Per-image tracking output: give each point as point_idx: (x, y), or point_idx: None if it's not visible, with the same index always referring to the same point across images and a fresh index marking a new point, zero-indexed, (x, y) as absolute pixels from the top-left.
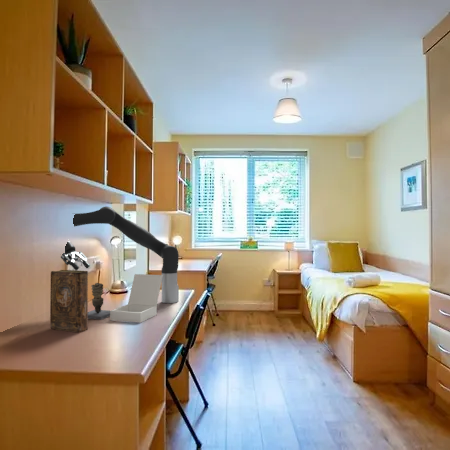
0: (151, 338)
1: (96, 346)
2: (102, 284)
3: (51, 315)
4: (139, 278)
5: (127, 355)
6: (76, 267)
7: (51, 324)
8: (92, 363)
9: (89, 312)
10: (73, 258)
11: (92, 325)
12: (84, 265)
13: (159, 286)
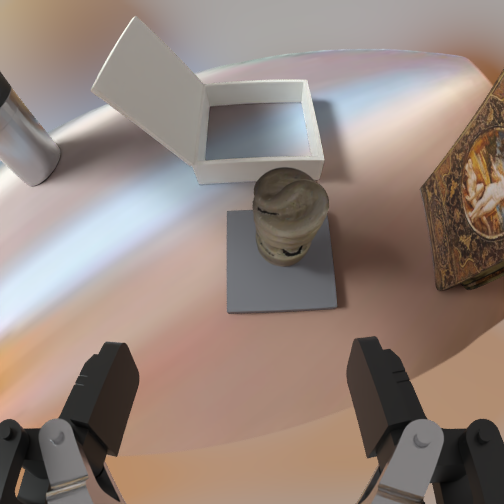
0: (386, 59)
1: (467, 116)
2: (272, 171)
3: (490, 275)
4: (119, 79)
5: (454, 73)
6: (389, 352)
7: (473, 283)
8: None
9: (284, 297)
10: (397, 496)
11: (390, 196)
12: (123, 419)
13: (163, 43)
